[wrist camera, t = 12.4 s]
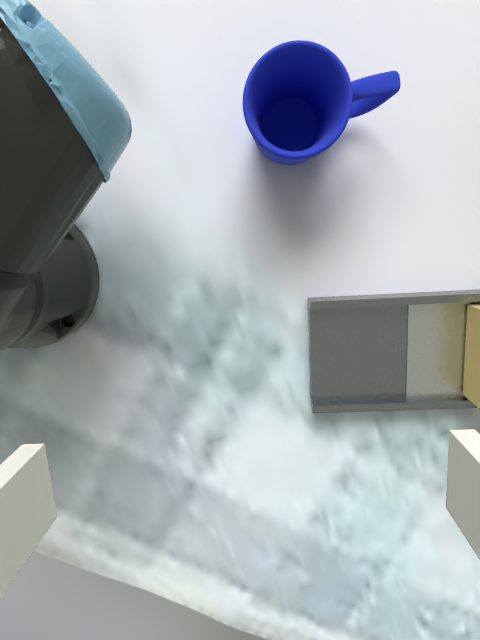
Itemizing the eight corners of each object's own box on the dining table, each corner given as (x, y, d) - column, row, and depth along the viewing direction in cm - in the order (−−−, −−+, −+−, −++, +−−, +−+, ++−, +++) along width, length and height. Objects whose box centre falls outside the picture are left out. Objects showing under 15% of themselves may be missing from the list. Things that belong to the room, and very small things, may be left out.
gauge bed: (310, 404, 48) (313, 413, 46) (308, 298, 46) (310, 301, 43) (563, 395, 47) (578, 404, 44) (575, 284, 44) (592, 288, 42)
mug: (377, 154, 42) (412, 133, 33) (256, 181, 43) (254, 169, 34) (365, 63, 41) (398, 13, 31) (239, 94, 42) (232, 54, 32)
